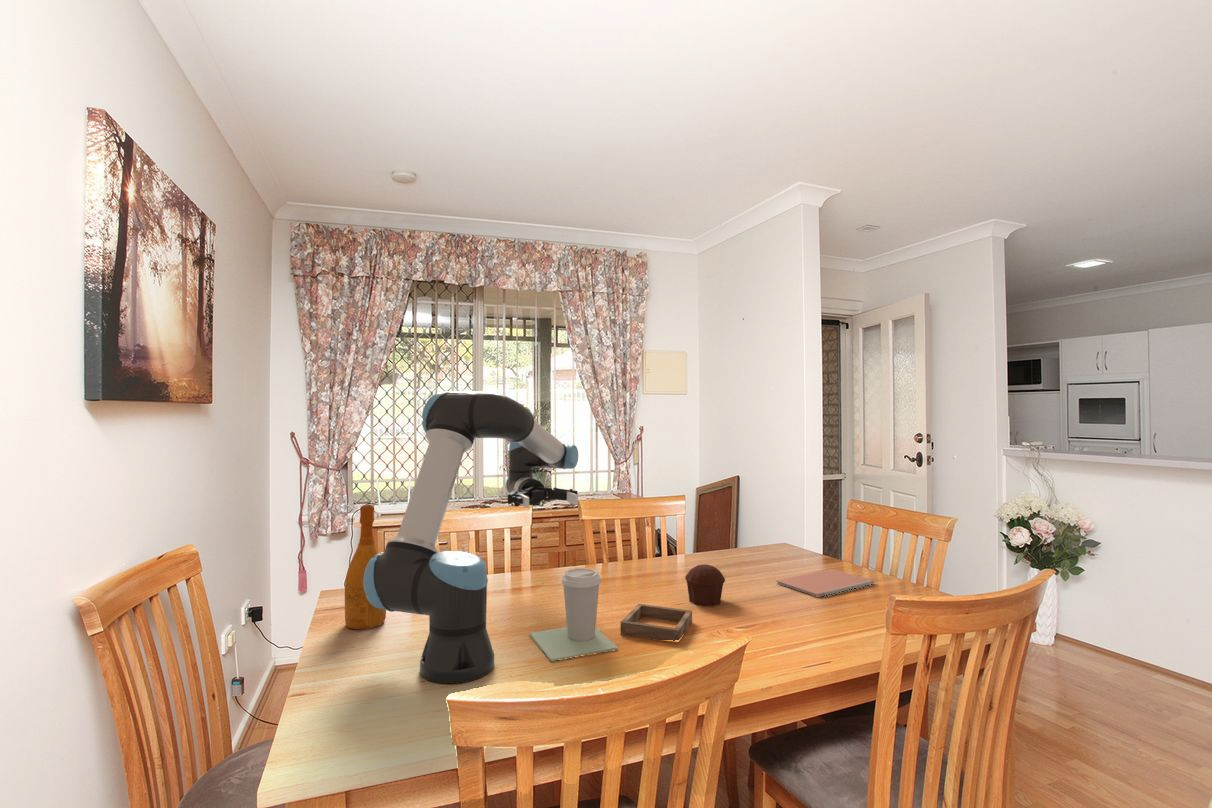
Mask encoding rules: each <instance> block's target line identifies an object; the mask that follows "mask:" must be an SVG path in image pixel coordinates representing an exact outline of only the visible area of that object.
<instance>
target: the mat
mask: <svg viewBox="0 0 1212 808" xmlns="http://www.w3.org/2000/svg"><path fill="white" fill-rule="evenodd" d="M529 637H530V638H531V640H533V642H534V644H536V645H537V647H538V646H539V647H540V648H539V647H538V648H539V649H540V651H541V652H542V651H543V652H544V653H545V654H544V653H543V652H542V653H543V654H544V655H545V657H546V656H547V657H548V658H547V657H546V658H547V660H548V661H549V662H550V661H554V662H556V661H555V660H559V659H565V658H570V657H575V656H581V655H588V654H593V655H595V654H594V653H599V654H601V653H600V652H604V653H607V652H606V651H610V652H614V651H613V650H616V651H618V650H619V647H618V646H617V645H616V644H615V643H614V642H612V641H611V640H610V639H609V638H608V637H607V636H606V635H605V634H604V633H602V632H601V631H600V630H599V629H598V628H597V627H596V628H595V637H594V638H593V639H590V640H587V641H575V640H571V639H569V638H568V634H567V626H564V627H558V628H552V629H547V630H546V629H545V630H538V631H533V632H529ZM588 656H589V655H588ZM565 660H566V659H565Z"/></svg>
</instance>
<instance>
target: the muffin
mask: <svg viewBox="0 0 1212 808" xmlns="http://www.w3.org/2000/svg"><path fill="white" fill-rule="evenodd" d="M684 578H685V579H684V580H685V581H686V584H687V593H688V600H689V601H688V602H690V603H692V604H693V605H697V606H700V605H701V607H715V606H718V605H720V604H721V600H722V594H723V593H722V592H723V589H724V588H723V586H724V583H725V582H726V579H725V576H724V575H723V574H722V572H721V570H720V569H719V568H717V567H715V566H714V565H711V564H698V565H696V566H694V567H692V568H691V569H690V570H688V572H687V574H686V575H685V577H684Z"/></svg>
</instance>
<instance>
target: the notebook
mask: <svg viewBox="0 0 1212 808" xmlns="http://www.w3.org/2000/svg"><path fill="white" fill-rule="evenodd" d="M775 582H776V584H777V585H779V586H782V587H785V586H786V587H785V588H788V587H789V588H788V589H791V588H793V589H792V590H794V589H796V590H795V591H797V590H799V591H798V592H800V591H802V592H805V593H808V594H811V595H814V596H817V597H819V598H821V597H820V596H824V595H825V596H824V597H827V596H828V597H830V596H831V597H832V595H835V594H837V595H838V594H839V595H840V594H841V593H844V592H845V593H846V592H847V591H848V592H850V591H851V592H852V591H853V590H856V589H859V588H861V589H863V587H864V588H866V587H867V588H868V587H869V586H871V587H872V585H871V584H873V585H874V582H875V580H873V579H869V578H866V577H863V576H859V575H856V574H852V573H848V572H845V571H842V570H841V571H840V570H838V569H834V568H828V569H825V570H819V571H814V572H810V573H809V572H808V573H805V574H799V575H796V576H790V577H786V578H782V579H781V578H779V579H776V580H775ZM865 585H866V586H865ZM867 585H869V586H867ZM861 586H863V587H861ZM858 587H859V588H858ZM852 588H853V589H852ZM854 588H856V589H854ZM849 589H850V590H849ZM851 589H852V590H851ZM845 590H847V591H845ZM840 591H841V592H840ZM842 591H844V592H842ZM802 592H801V593H802ZM837 592H838V593H837ZM839 592H840V593H839ZM805 593H804V594H805ZM834 593H835V594H834ZM808 594H807V595H808ZM828 594H830V595H828ZM831 594H832V595H831ZM811 595H810V596H811ZM826 595H827V596H826ZM814 596H813V597H814ZM817 597H816V598H817Z"/></svg>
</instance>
